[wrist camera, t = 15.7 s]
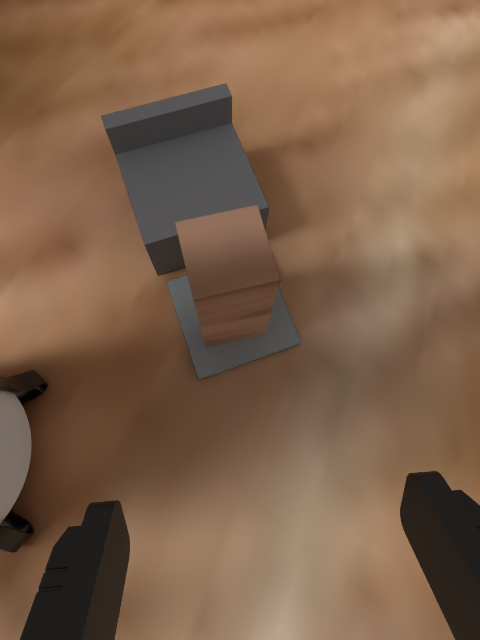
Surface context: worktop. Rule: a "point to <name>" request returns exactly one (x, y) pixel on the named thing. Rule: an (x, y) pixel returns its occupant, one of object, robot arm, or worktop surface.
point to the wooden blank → (229, 273)
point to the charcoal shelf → (181, 166)
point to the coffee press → (15, 453)
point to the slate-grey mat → (232, 353)
